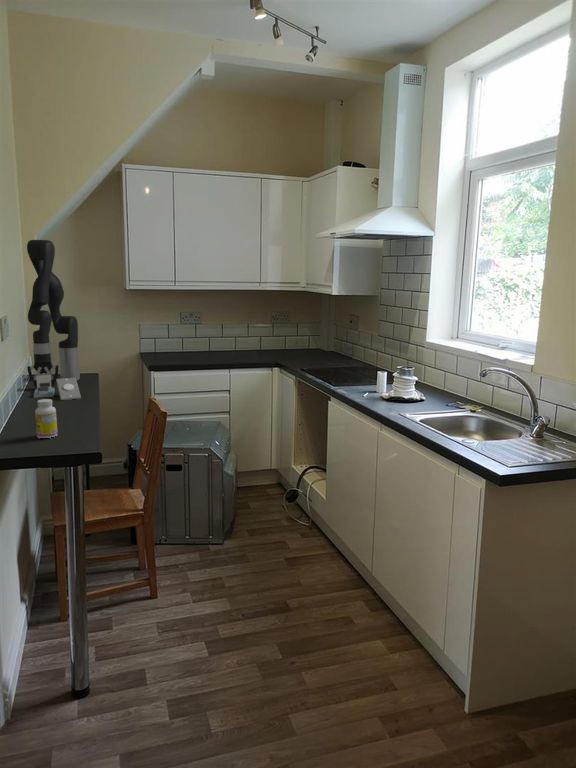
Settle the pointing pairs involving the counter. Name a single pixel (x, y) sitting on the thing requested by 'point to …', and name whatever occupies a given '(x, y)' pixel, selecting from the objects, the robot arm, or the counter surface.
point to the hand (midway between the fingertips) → (44, 387)
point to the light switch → (68, 388)
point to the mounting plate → (50, 394)
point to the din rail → (44, 388)
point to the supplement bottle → (46, 419)
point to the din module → (43, 379)
